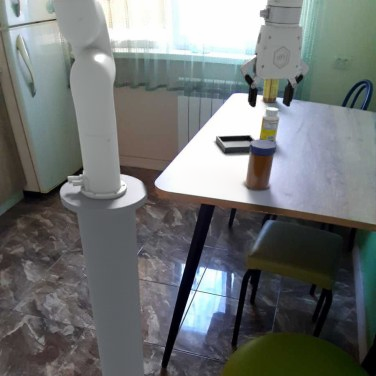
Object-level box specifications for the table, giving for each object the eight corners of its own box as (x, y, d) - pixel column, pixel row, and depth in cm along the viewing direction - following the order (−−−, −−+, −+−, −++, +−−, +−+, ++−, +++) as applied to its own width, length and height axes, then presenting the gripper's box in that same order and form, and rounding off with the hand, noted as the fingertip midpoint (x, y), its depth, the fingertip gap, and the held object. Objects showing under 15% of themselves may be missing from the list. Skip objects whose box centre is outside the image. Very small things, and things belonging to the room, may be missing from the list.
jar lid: (254, 156, 105) (255, 148, 104) (245, 147, 110) (246, 139, 109) (279, 155, 107) (280, 147, 105) (269, 146, 111) (270, 139, 110)
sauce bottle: (276, 100, 185) (285, 46, 171) (275, 103, 180) (284, 49, 167) (262, 98, 186) (269, 45, 172) (260, 102, 181) (268, 47, 168)
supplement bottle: (264, 137, 145) (269, 105, 138) (278, 141, 143) (283, 108, 136) (256, 141, 142) (260, 108, 135) (270, 145, 140) (275, 112, 133)
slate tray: (224, 153, 132) (225, 147, 131) (215, 141, 140) (216, 136, 139) (260, 151, 135) (261, 146, 133) (249, 140, 142) (250, 134, 141)
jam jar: (249, 190, 112) (255, 150, 105) (242, 181, 116) (247, 141, 109) (271, 189, 113) (278, 149, 106) (263, 179, 118) (270, 141, 110)
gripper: (250, 17, 85) (240, 110, 97) (327, 19, 88) (308, 109, 100) (239, 13, 90) (231, 102, 102) (312, 15, 93) (295, 101, 105)
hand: (269, 105), depth 101 cm, fingers open, 8 cm apart
